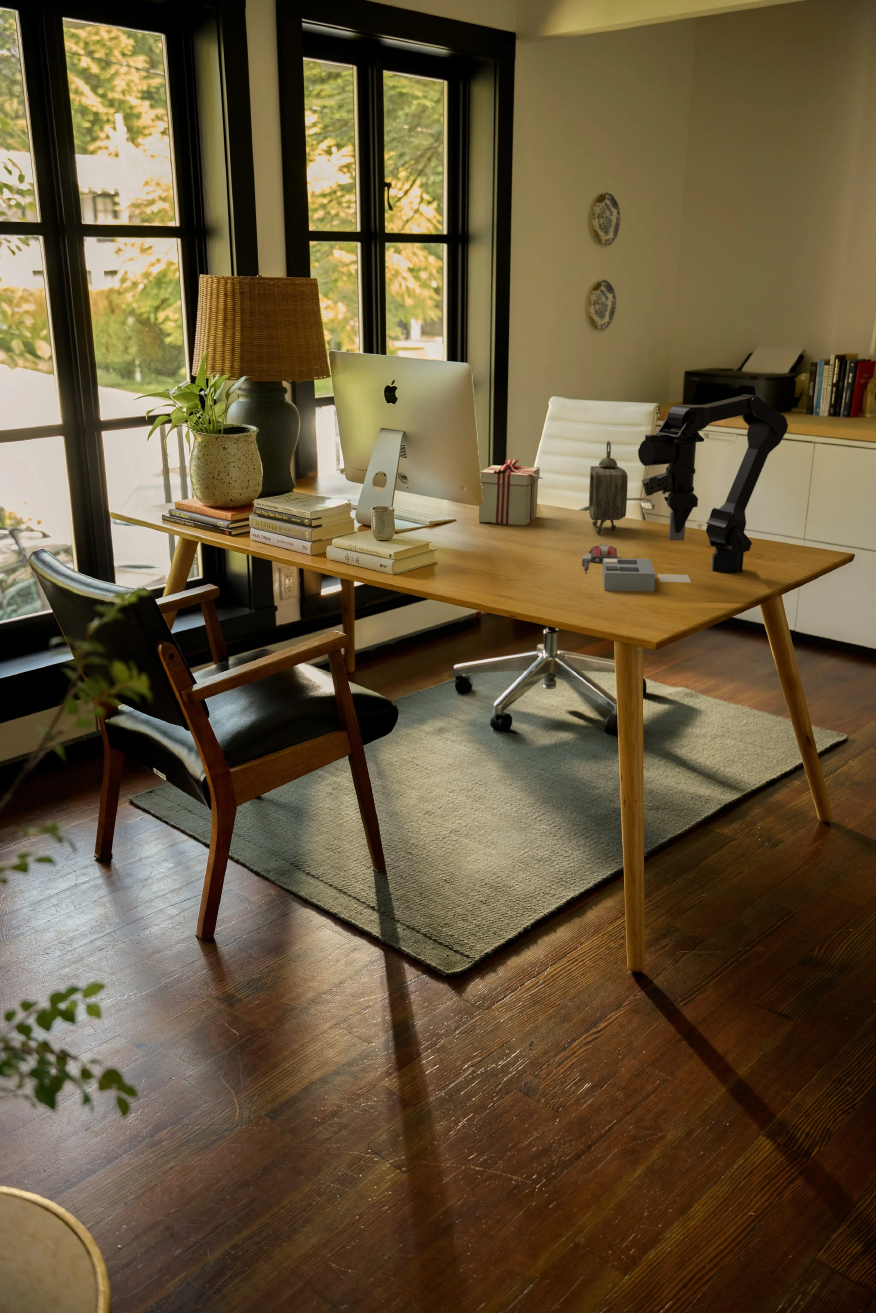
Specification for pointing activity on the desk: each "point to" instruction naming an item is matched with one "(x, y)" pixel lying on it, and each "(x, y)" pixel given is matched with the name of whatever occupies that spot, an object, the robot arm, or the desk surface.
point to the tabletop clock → (607, 492)
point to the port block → (628, 574)
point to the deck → (673, 578)
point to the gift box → (509, 494)
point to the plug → (672, 533)
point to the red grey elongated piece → (598, 555)
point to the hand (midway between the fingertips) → (676, 531)
